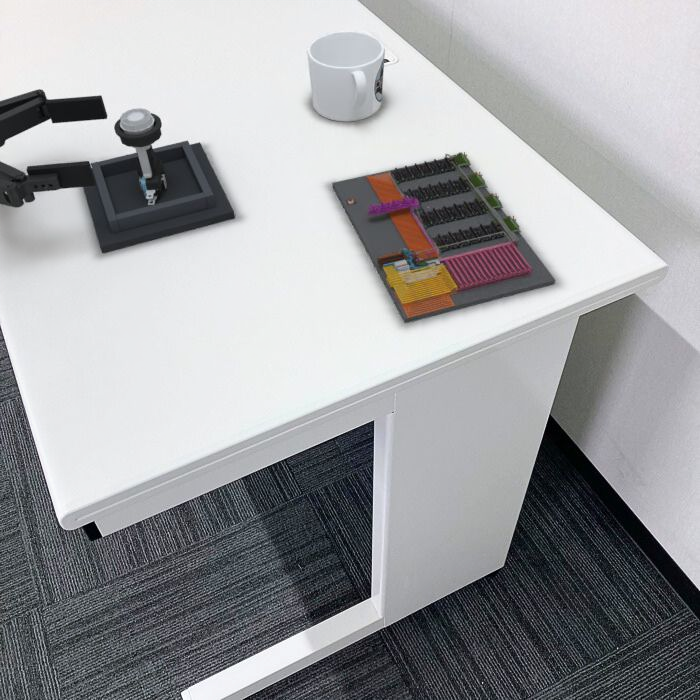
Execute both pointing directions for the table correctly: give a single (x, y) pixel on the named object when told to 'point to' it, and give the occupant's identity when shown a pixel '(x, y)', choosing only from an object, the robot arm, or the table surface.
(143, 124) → the push button
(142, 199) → the docking pad
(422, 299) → the circuit board
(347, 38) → the mug
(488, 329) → the table surface
